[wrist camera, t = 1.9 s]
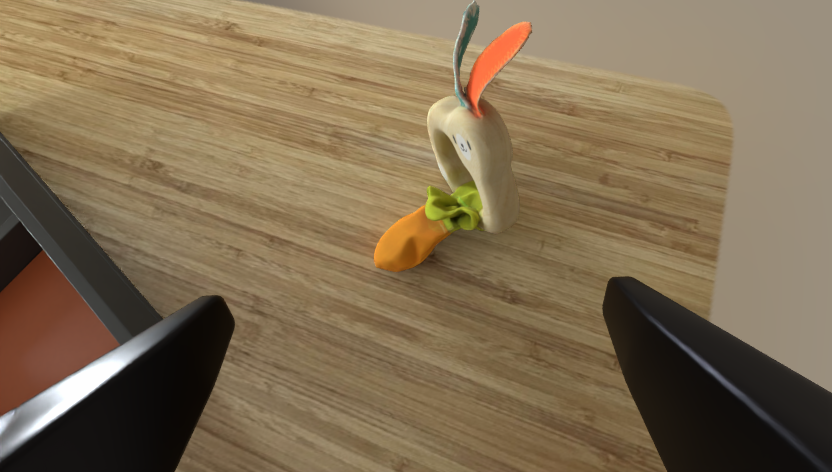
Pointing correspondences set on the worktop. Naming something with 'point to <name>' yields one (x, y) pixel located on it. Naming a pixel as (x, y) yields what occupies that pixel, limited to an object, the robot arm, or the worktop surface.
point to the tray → (54, 289)
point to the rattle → (463, 158)
